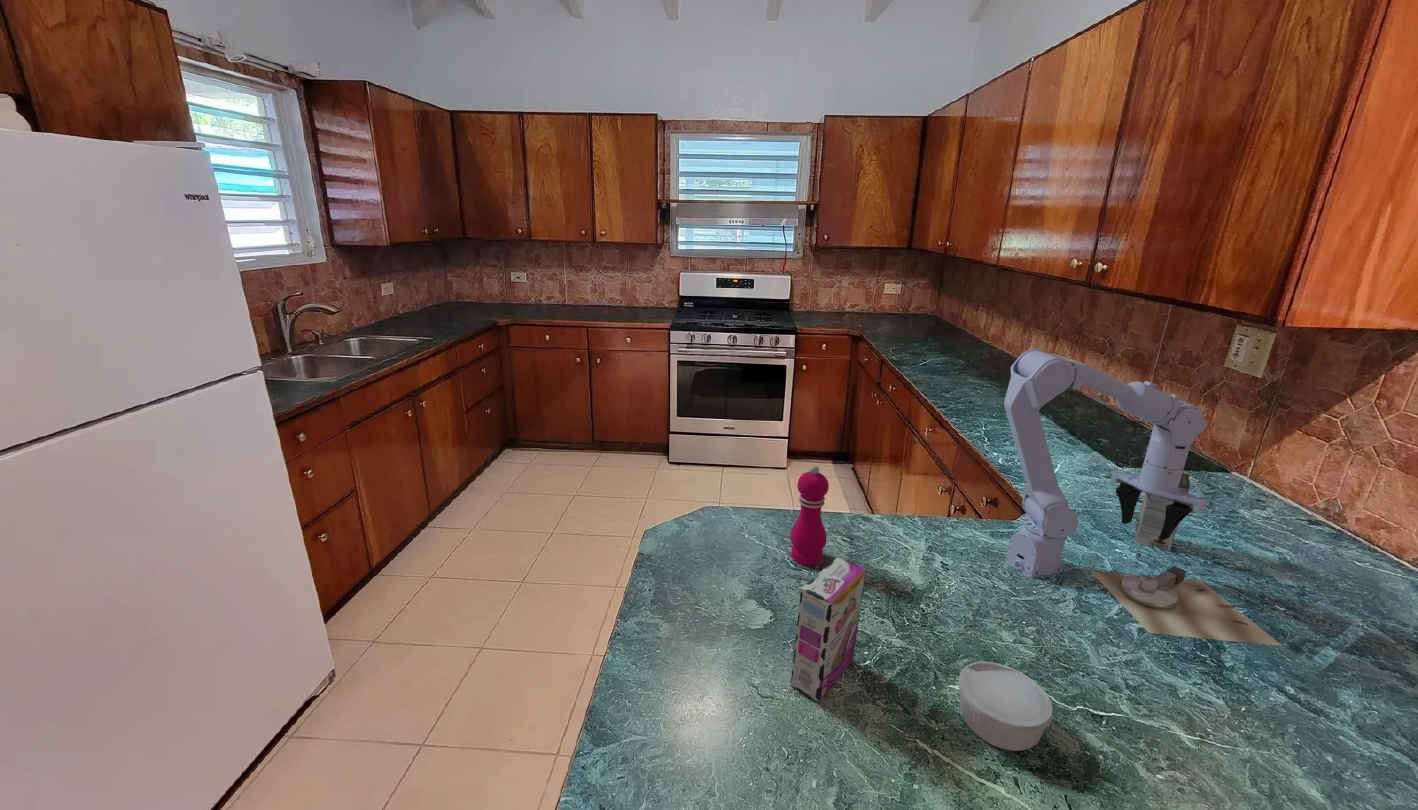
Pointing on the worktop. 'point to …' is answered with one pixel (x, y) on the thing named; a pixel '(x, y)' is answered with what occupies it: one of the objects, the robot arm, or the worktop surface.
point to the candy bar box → (827, 627)
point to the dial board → (1190, 613)
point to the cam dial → (1154, 588)
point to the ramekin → (1003, 705)
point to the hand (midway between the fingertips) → (1144, 530)
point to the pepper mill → (810, 519)
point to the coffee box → (1156, 519)
